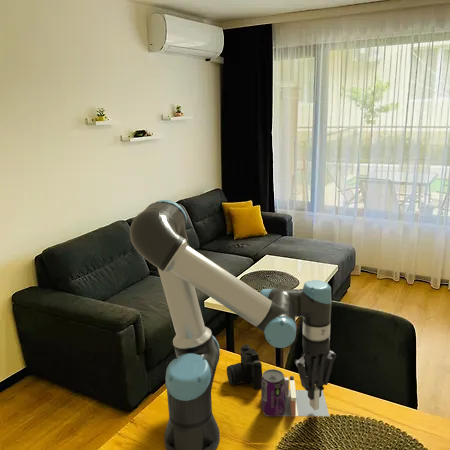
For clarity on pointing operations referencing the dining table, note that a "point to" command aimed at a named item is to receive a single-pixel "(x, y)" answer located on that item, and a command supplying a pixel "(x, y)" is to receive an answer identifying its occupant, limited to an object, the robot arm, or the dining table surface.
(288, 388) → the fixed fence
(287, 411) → the mat
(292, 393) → the cream pink flat block
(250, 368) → the camera
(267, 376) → the beverage can
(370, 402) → the dining table surface
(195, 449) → the robot arm
